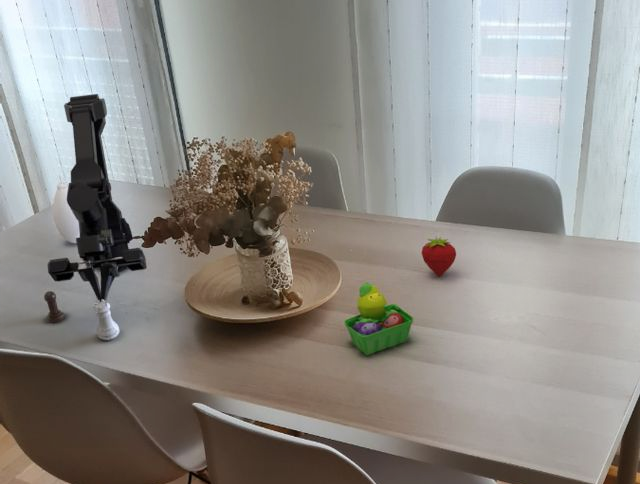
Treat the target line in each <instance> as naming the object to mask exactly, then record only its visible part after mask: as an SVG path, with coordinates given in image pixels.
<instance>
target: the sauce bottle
mask: <svg viewBox="0 0 640 484" xmlns="http://www.w3.org/2000/svg"><path fill="white" fill-rule="evenodd" d="M58 176H59V177H58V178H59V181H60V182H59V183H57V185H56V188H57V189H56V190H55V193H54V197H53V203H52V216H53V222H54V224H55V228H56V229H57V232H58V234H60V236H61V237H62V238H63V239H64V240H65V241H68V242H69V243H71V244H77V243H76V238H79V237H80V232H79V222H78V220H77V219H76V217H75V216H74V214H73V212H72V210H71V209H70V207H69V205H68V203H67V192H68V185H69V183H68V182H63V178H62V175H61V173H59V175H58Z"/></svg>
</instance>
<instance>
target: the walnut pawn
mask: <svg viewBox="0 0 640 484" xmlns="http://www.w3.org/2000/svg"><path fill="white" fill-rule="evenodd" d="M43 298H44V301H45V302H46V303H47V308H48V310H49V311H48V314H47V316H46V318H47V321H48V322H49V323H50V324H56V323H60V322H62V321H63V320H65V314H64V312H63V311H61V309H59V307H58V303H57V294H56V293H55V292H54V291H51V290H49V291H46V292H45V294H44V295H43Z"/></svg>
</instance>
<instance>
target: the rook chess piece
mask: <svg viewBox="0 0 640 484" xmlns="http://www.w3.org/2000/svg"><path fill="white" fill-rule="evenodd" d="M110 309H111V304H110V303H109V302H108V300H106V301H104V300H103V299H102V301H101V302H100V301H99V300H98V299H97V300H96V302H94V306H93V311H94V312H95V314H96V317H97V318H98V324H97V328H96V332H97V336H98V338H99V339H101V340H104V341H111V340H115V339H116V338H117V337H118V336H119V335H120V332H121V329H120V328H119V325H118V323H117V322H116V321H114V319H113V318H112V315H111V313H112V312H111V310H110Z"/></svg>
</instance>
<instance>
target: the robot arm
mask: <svg viewBox="0 0 640 484" xmlns="http://www.w3.org/2000/svg"><path fill="white" fill-rule="evenodd" d="M63 108H64V113H65V116H66V122H67V123H71V125H72V134H73V146H74V155H75V157H74V158H75V164H74V166H73V167H72V169H71V170H70V182H68V192H67V203H68V205H69V207H70V209H71V210H72V212H73V214H74V216H75V217H76V219H77V220H78V222H79V232H80V237H79V238H76V243H75V244H76V249H77V254H78V256H79V258H80V259H82V260H81V261H80V260H79V261H76V262H75V261H74V262H71V261H70V260H69V257H62V258H61V257H59V258H54V259H49V261H47V273H48V274H49V276H50V277H51V279H53V281H54V282H57V283H58V282H65V281H71V280H72V279H73V278H74V276H75V273H78V275H79V277H80V278H81V280H82V281H83V282H88V283H89V285H90V286H91V288H92V291H93V292H94V295H95V297H96V299H97V301H98V300H99V301H100V302H101V301H102V299H103V300H104V301H107V299H108V295H109V293H110V289H111V287H112V284H113V283H114V280H115V278H119V277H120V272H122V271H125V270H126V269H128V270H130V271H131V272H136V271H137V272H138V271H144V270H146V269H147V268H148V267H147V259H146V255H145V253H144V251H143V249H141V248H140V247H134V248H129V244H130V242H131V241H133V240H134V238H133V232H132V229H131V227H130V224H129V222H127V219H126V218H125V217H123V213H122V210H121V209H120V208H119V207H118V205H117V204H116V203H115V201H113V196H112V185H111V183H110V179H109V174H108V167H107V163H106V161H107V160H106V156H105V150H104V144H103V139H102V134H103V132H104V129H105V127H106V124H107V121H106V117H107V115H108V110H107V103H106V100H105V98H104V97H102V98H100V96H99V94H98V93H92V94H84V95H77V96H70V97H69V101H68V102H65V103H64V104H63ZM96 270H99V275H100V281H99V277H98V276H97V274H96Z"/></svg>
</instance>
